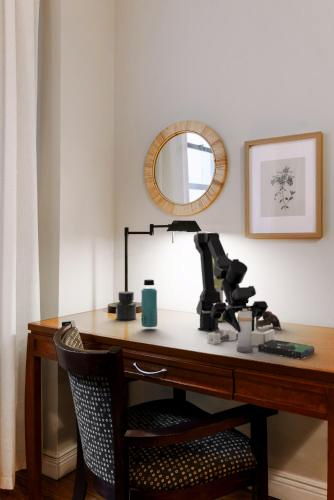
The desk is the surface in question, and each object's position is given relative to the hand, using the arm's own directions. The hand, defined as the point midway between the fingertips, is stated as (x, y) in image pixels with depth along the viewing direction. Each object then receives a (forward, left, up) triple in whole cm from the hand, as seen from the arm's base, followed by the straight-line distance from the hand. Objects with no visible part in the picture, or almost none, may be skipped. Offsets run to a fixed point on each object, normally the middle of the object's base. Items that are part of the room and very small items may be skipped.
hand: (246, 331), depth 141 cm
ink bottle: (-70, +20, -7) cm, 73 cm away
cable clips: (-12, +13, -7) cm, 19 cm away
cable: (-10, +13, -6) cm, 17 cm away
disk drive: (+10, +7, -7) cm, 15 cm away
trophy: (-34, +40, -7) cm, 53 cm away
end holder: (-3, +13, -7) cm, 15 cm away
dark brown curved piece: (-9, +38, -7) cm, 39 cm away
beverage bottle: (-47, +8, -7) cm, 48 cm away
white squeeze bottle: (-1, +1, -7) cm, 7 cm away
